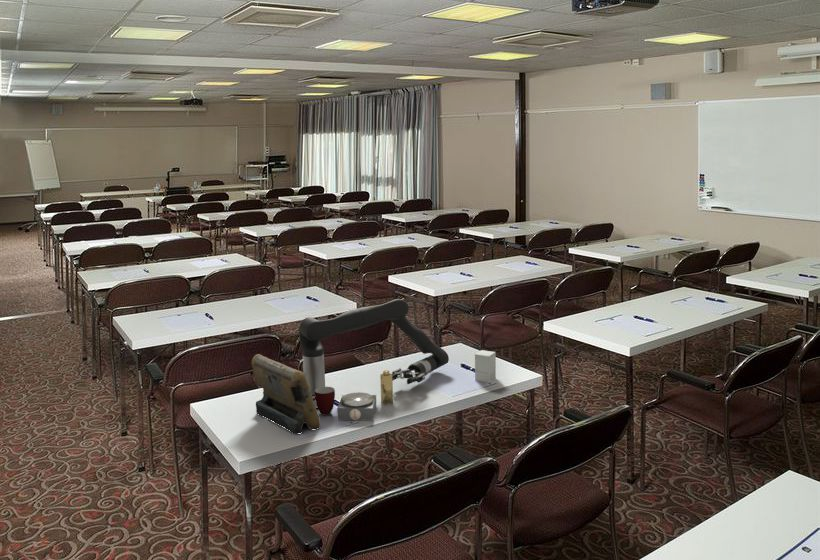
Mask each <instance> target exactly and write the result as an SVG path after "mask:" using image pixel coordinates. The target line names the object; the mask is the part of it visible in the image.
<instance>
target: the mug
mask: <svg viewBox="0 0 820 560" xmlns="http://www.w3.org/2000/svg"><path fill="white" fill-rule="evenodd" d="M335 391H336V390H335V388H334V387H332V386H325V387H319V388H317V389H315V395H314V397H312V399H313V402H315V403H316V409H317V411H319V413H320V415H322V416H327V415H330V414H331V413H332V411H333V409H334V405H335V398H336V394H335V393H336V392H335Z"/></svg>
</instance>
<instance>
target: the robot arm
mask: <svg viewBox="0 0 820 560" xmlns="http://www.w3.org/2000/svg"><path fill="white" fill-rule="evenodd" d="M409 310H410V307H409V304H408V302H406V300H404V299H401V298H396V299H392V300H391V301H388V302H385V303H383V304H377V305H370V306H364V307H358V308H353V309H350V310H349V309H348V310H346V311H344V312H343V313H340V314H339V315H338V316H335V317H334V318H328V319H323V320H318V319H316V318H314V317H312V316H311V317H310V316H309V317H305V318H304V319H302V321H300V324H299V328H298V329H299V330H298V331H299V332H298V334H299V345H300V349H301V353H302V369H303V370H302V372H303V374H304V375H305V378H306V381H307V383H308V386H309V391H310V394H311V396H315V389H317V388H319V387H326V376H325V375H326V373H325V353H324V351H325V350H324V346H323V345H322V343H321V340H324V339H327V338H329V337H333V336H335V335H339V334H343V333H348V332H352V331H357V330H362V329H365V328H368V327H371V326H372V325H375V324H378V323H380V322H384V321H387V320H389V321H390V322H391V323H393V324H394V325H395V326H397V328H398V329H399V330H401V331H402V332H403V333H404V334H405V336H407V337H408V338H409V339H410V340H411V342H412V343H413V344H414V345H415V346H416V348H418V350H419V351H420V352H421V353H422V354H423V355H426V354H430V355H428V356H427V357H424V358H422V359H419V360H418V361H417V360H416V362H413V363H411V364H410V365H408V366H407V368H406V369H403V370H402V368H401V367H399V368H397V369H395V370H393V371H391V374H392V382H394V381H395V380H397V379H401V380H403V379H404V380H405V379H407V380H406V384H407V385H410V384H412V383H418V384H419V383H421V382H422V381H424V380H425V379H426V376H427V375H428V374H430V373H432V372H434V371H435V370H437V369H439V368H441V367H444V366H445V365H447V364H448V363H449V361H450V359H449V354H448V353H447V351H446V350H444V349H443V348H442V347H440V346H439V345H438V344H436V343H434V342H433V341H432V339H431V338H430V337H429V335H427V334H426V332H424V331H423V330H422V329H421V328H419V327H418V326H416V325H415V324H414V323H413V322H411V321H410V320H409V319H408V318H407V317H406V316H407V315H408V312H409Z"/></svg>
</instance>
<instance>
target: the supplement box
mask: <svg viewBox="0 0 820 560" xmlns="http://www.w3.org/2000/svg"><path fill="white" fill-rule="evenodd" d="M496 363H497V362H496V351H489V350H484V349H481V350H479V351H478V352H476V353H474V375H475V376H474V377H475V380H474V381H478V382H484V383H491V382H492V381H494V380H495V379H496V377H497V373H496V371H497V370H496V369H497V365H496Z"/></svg>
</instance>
